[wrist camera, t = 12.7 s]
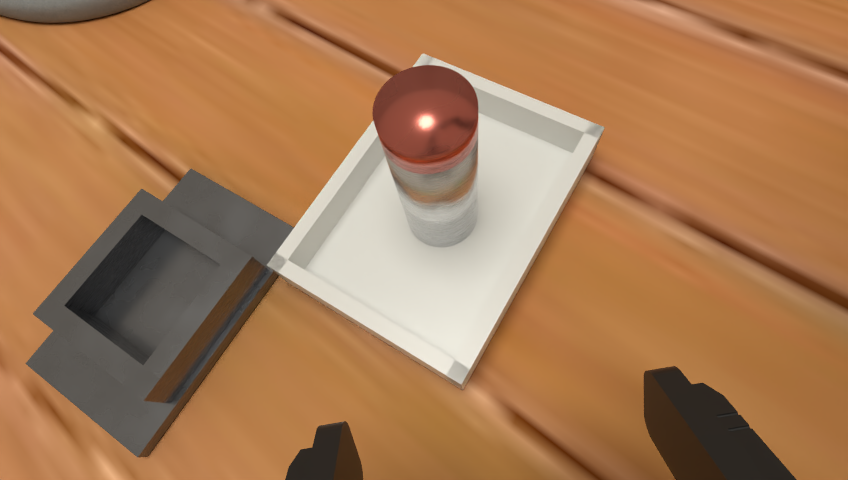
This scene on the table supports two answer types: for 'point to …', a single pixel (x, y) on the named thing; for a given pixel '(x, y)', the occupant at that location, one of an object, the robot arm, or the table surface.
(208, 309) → the hitch
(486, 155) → the tray
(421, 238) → the pin
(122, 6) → the frisbee
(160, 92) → the table surface
